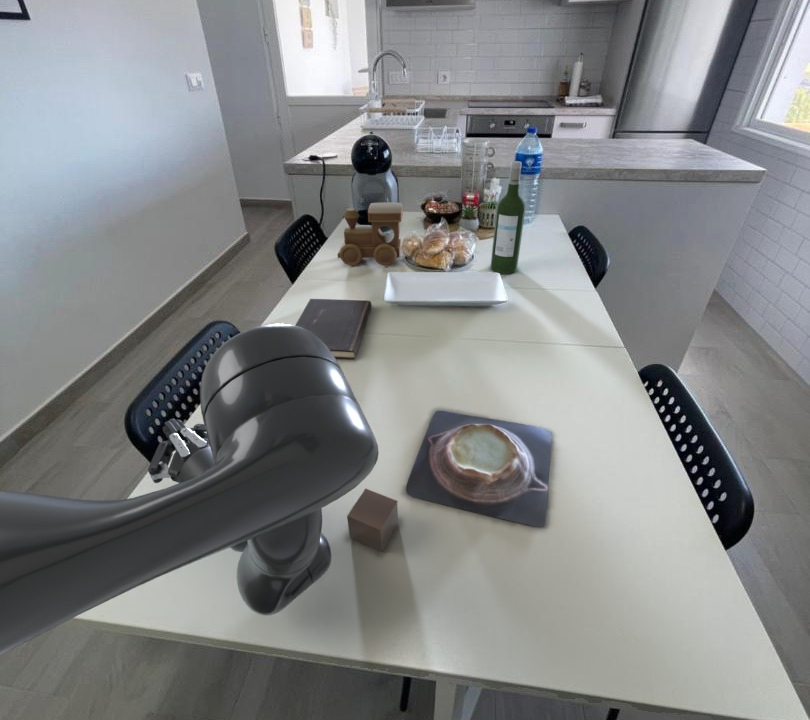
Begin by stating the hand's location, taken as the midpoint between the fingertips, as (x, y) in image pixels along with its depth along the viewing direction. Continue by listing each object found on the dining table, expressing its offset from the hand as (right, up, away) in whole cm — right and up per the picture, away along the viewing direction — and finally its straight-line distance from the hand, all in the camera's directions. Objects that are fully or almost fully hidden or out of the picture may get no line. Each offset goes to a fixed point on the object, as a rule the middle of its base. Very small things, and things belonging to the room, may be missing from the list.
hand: (170, 424), depth 71 cm
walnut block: (+33, -14, -9) cm, 37 cm away
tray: (+48, +27, +49) cm, 74 cm away
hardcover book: (+20, +17, +35) cm, 44 cm away
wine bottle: (+67, +38, +63) cm, 100 cm away
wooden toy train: (+27, +42, +70) cm, 86 cm away
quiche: (+50, -6, +2) cm, 51 cm away
